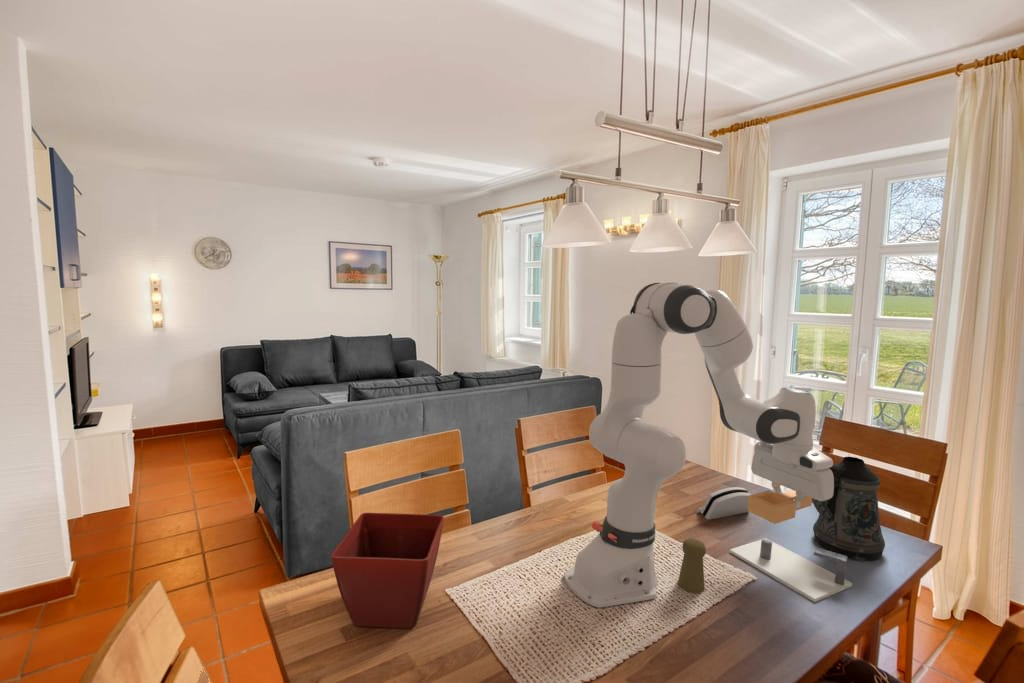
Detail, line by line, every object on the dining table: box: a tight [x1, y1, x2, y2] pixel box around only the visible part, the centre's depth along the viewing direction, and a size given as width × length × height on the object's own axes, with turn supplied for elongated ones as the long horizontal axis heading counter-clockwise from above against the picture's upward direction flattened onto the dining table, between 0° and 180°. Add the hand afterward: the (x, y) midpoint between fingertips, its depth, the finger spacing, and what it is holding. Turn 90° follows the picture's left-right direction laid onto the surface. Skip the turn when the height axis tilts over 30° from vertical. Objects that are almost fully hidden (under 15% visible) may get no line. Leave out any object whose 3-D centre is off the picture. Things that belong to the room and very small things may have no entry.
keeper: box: [813, 546, 848, 586], centre depth 120 cm, size 7×3×7 cm, turn 52°
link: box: [748, 489, 813, 525], centre depth 127 cm, size 18×8×4 cm, turn 116°
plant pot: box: [331, 512, 445, 629], centre depth 105 cm, size 19×19×17 cm
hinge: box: [696, 486, 752, 520], centre depth 155 cm, size 17×5×10 cm, turn 111°
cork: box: [677, 538, 707, 594], centre depth 117 cm, size 6×6×11 cm
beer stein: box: [812, 456, 886, 562], centre depth 135 cm, size 16×19×25 cm
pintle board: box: [729, 538, 853, 603], centre depth 125 cm, size 14×23×5 cm, turn 27°
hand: (787, 503), depth 127 cm, fingers closed on link, 3 cm apart
